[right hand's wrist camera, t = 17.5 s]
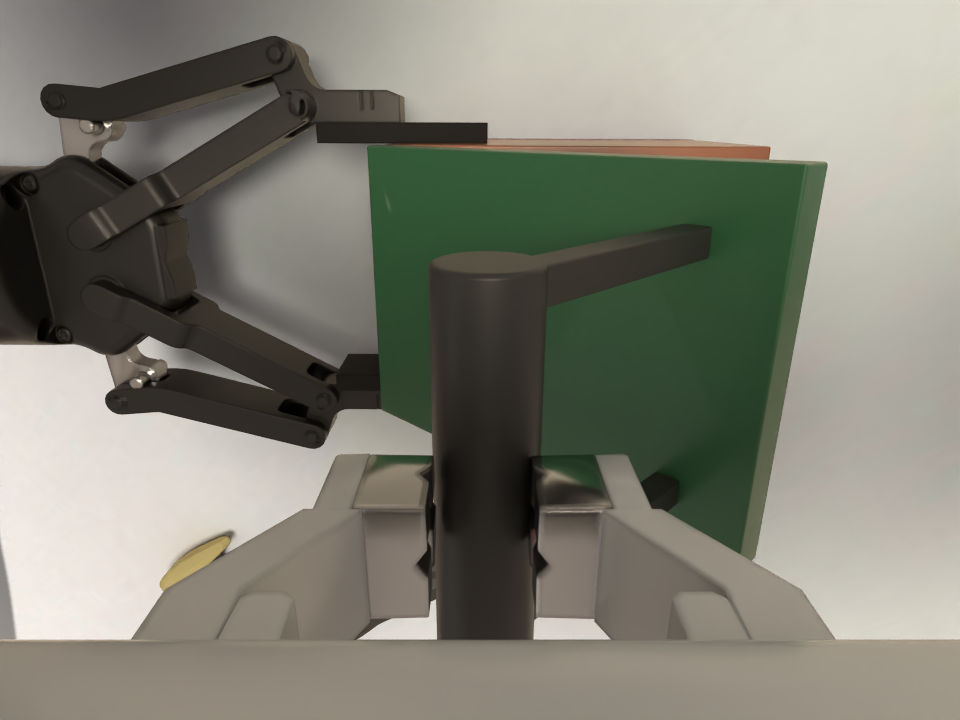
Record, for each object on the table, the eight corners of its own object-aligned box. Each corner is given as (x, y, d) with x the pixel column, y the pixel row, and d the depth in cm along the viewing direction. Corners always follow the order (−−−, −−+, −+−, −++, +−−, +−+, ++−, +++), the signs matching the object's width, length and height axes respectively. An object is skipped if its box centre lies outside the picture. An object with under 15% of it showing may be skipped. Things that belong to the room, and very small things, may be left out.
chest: (687, 139, 31) (771, 146, 22) (666, 326, 35) (732, 403, 25) (417, 138, 32) (384, 144, 22) (423, 323, 35) (395, 398, 25)
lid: (828, 162, 13) (568, 190, 7) (755, 557, 16) (537, 802, 10) (395, 145, 22) (123, 151, 16) (405, 400, 25) (183, 483, 19)
